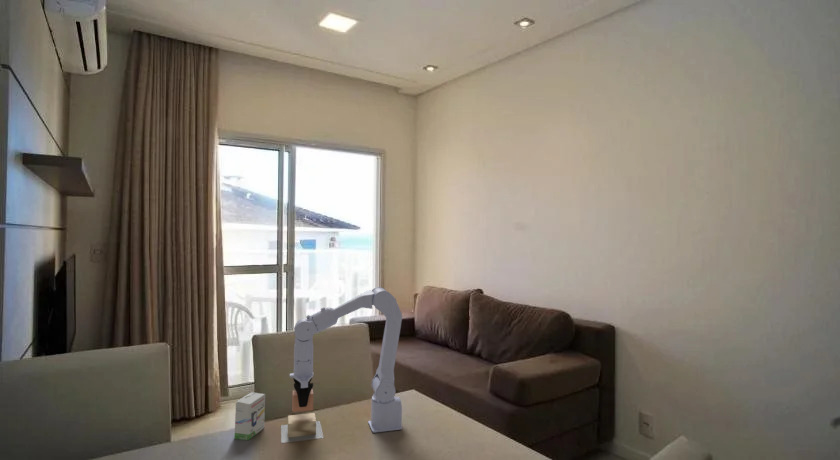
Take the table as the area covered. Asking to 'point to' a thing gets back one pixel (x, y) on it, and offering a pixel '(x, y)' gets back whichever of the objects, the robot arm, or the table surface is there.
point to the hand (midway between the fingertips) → (302, 403)
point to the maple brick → (301, 425)
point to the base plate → (300, 438)
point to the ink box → (249, 416)
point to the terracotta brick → (296, 404)
